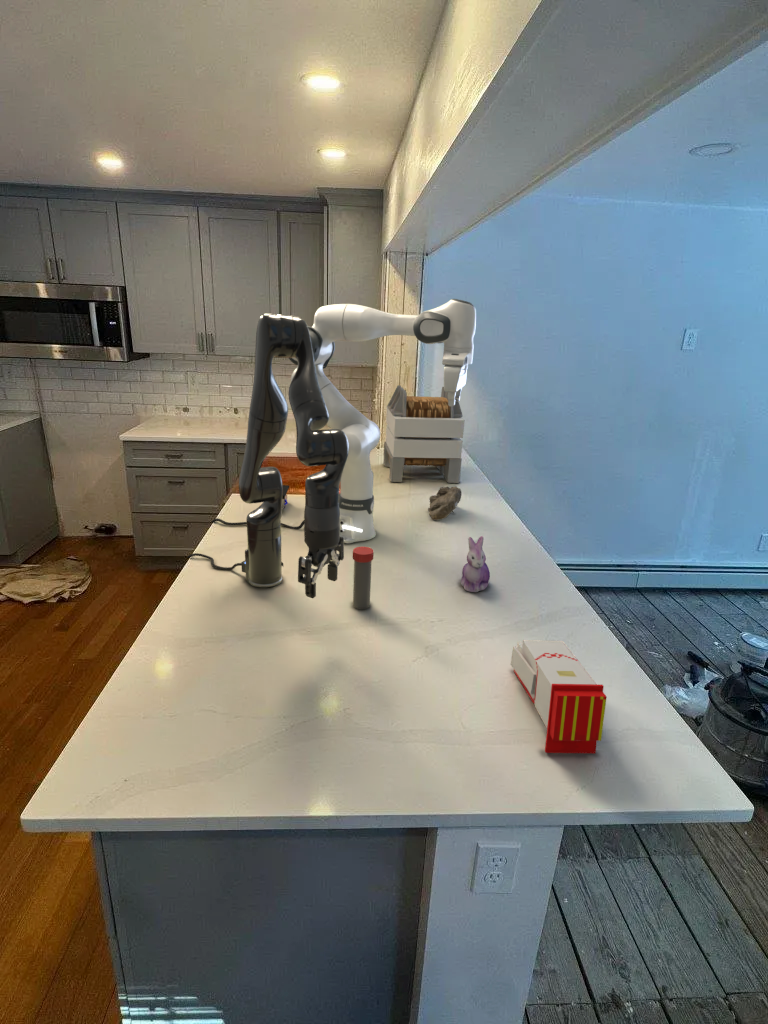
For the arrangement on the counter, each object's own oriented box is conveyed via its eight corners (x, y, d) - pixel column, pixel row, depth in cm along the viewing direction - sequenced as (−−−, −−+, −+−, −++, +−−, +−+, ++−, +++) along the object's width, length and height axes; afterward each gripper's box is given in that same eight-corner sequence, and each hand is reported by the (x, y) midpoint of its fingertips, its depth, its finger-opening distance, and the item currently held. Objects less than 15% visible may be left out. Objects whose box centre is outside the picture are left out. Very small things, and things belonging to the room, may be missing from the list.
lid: (373, 554, 149) (373, 546, 148) (373, 563, 144) (373, 555, 143) (353, 553, 149) (353, 545, 148) (352, 562, 144) (352, 554, 143)
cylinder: (370, 601, 153) (372, 548, 148) (369, 609, 149) (371, 556, 144) (353, 600, 153) (354, 548, 148) (352, 609, 149) (354, 555, 144)
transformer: (382, 463, 289) (386, 382, 275) (445, 464, 293) (451, 384, 279) (390, 482, 257) (394, 392, 243) (460, 483, 261) (468, 394, 247)
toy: (559, 623, 127) (616, 692, 98) (553, 678, 130) (607, 761, 101) (505, 622, 127) (547, 691, 98) (501, 677, 130) (540, 760, 100)
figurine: (471, 596, 158) (477, 546, 153) (451, 580, 166) (455, 533, 161) (498, 590, 162) (504, 541, 157) (477, 575, 171) (482, 529, 166)
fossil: (424, 492, 232) (454, 472, 227) (437, 509, 235) (468, 490, 230) (422, 516, 212) (456, 495, 207) (437, 534, 215) (470, 514, 210)
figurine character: (285, 517, 214) (290, 500, 227) (284, 499, 210) (289, 483, 224) (267, 517, 213) (273, 500, 227) (266, 498, 210) (272, 482, 223)
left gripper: (326, 507, 127) (325, 570, 134) (287, 529, 116) (288, 597, 122) (354, 515, 124) (352, 579, 131) (317, 538, 113) (317, 608, 119)
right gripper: (453, 354, 180) (449, 398, 185) (441, 358, 161) (437, 407, 166) (473, 355, 178) (468, 399, 183) (463, 360, 160) (459, 409, 164)
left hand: (321, 588), depth 126 cm, fingers open, 8 cm apart
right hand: (454, 403), depth 174 cm, fingers open, 8 cm apart
